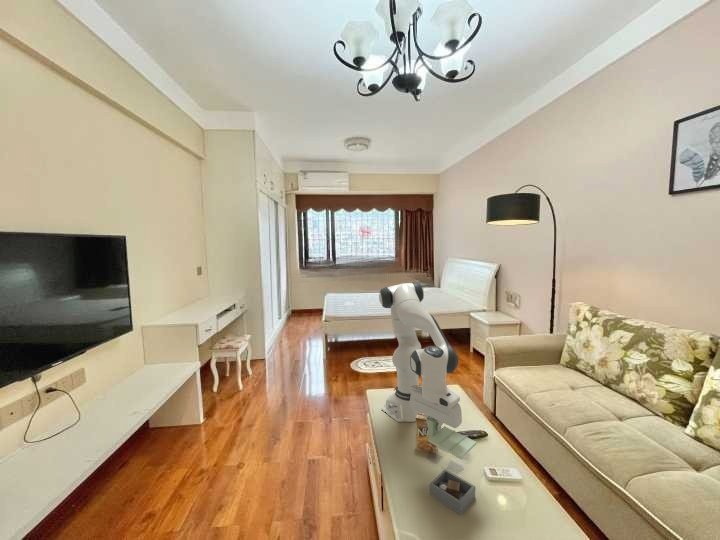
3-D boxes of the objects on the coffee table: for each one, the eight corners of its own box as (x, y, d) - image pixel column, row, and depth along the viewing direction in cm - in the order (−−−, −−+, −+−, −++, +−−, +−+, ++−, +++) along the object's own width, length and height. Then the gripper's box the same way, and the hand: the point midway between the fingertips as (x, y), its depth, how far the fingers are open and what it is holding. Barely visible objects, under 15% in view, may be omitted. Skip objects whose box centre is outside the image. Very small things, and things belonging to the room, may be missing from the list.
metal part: (437, 493, 110) (437, 485, 110) (441, 488, 113) (440, 480, 112) (445, 497, 108) (445, 489, 108) (448, 491, 111) (448, 484, 111)
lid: (476, 444, 107) (476, 427, 106) (461, 459, 99) (461, 441, 99) (439, 426, 117) (439, 411, 117) (423, 438, 110) (423, 423, 109)
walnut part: (447, 495, 109) (447, 487, 109) (448, 487, 113) (448, 479, 113) (459, 498, 108) (459, 490, 107) (459, 490, 111) (459, 482, 111)
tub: (475, 499, 108) (475, 486, 108) (461, 517, 101) (460, 503, 101) (445, 481, 117) (444, 468, 116) (430, 496, 110) (429, 483, 110)
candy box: (415, 451, 134) (415, 417, 133) (417, 445, 138) (417, 412, 137) (436, 455, 131) (435, 421, 130) (437, 449, 135) (437, 416, 134)
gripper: (406, 385, 117) (406, 420, 118) (454, 405, 102) (454, 444, 103) (416, 380, 121) (416, 413, 122) (464, 398, 106) (464, 436, 108)
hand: (434, 428), depth 113 cm, fingers closed on lid
